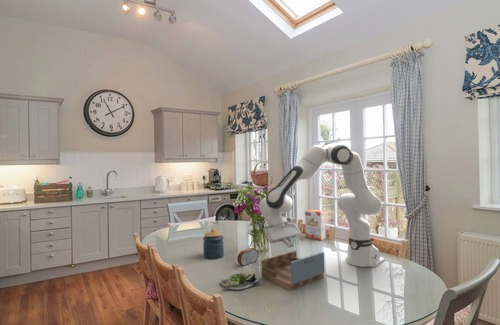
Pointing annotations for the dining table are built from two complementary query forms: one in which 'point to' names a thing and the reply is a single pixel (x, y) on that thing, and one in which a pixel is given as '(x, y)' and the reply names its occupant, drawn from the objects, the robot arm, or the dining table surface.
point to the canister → (213, 244)
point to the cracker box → (315, 224)
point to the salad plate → (239, 281)
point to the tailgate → (307, 267)
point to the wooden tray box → (283, 271)
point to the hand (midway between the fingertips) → (291, 246)
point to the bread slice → (247, 256)
